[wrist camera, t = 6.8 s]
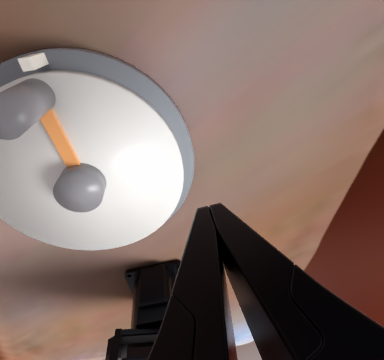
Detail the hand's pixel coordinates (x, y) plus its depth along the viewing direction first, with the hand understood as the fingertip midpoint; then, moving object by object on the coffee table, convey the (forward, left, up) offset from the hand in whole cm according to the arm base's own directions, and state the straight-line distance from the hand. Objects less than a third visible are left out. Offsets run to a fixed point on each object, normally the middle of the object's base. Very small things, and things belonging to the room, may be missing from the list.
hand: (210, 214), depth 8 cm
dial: (-3, +7, -10) cm, 13 cm away
